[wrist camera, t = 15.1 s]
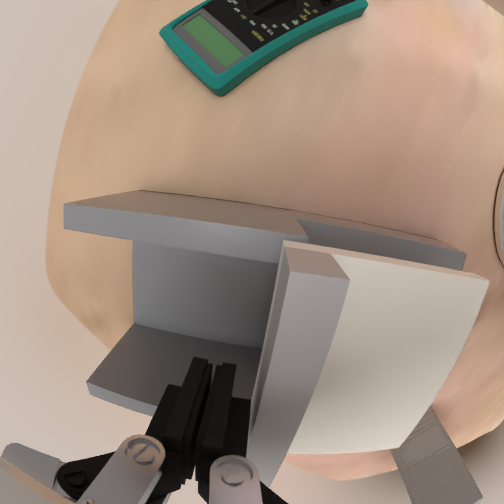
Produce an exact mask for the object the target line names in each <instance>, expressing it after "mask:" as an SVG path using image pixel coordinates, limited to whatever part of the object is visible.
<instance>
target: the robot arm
mask: <svg viewBox="0 0 504 504" xmlns="http://www.w3.org/2000/svg"><path fill="white" fill-rule="evenodd" d="M495 240H496V246H497V251H498V254H499V257H500V260H501V262H502V264H503V266H504V172H503V175H502V177H501V180H500V184H499V188H498V192H497V198H496V205H495ZM236 366H237V364H231V363H225V362H223V363H222V365H216V369H215V373H214V376H213V380H212V384H211V379H212V368H213V364H211V363H208V359H204V358H199V357H193V359H192V362H191V364H190V367H189V369H188V372H187V374H186V377H185V379H184V382H183V384H182V387H181V386H177V385H173V384H168V385H167V387H166V389H165V392H164V394H163V396H162V398H161V400H160V402H159V405H158V407H157V409H156V411H155V413H154V416H153V418H152V420H151V422H150V425H149V427H148V429H147V431H146V434H145V435H133V436H131V437H129V438H127V439H126V440H124V441H123V442H122V444H121V445H120V446H119V448H118V449H117V450H116V451H115V452H112V453H108V454H104V455H100V456H95V457H91V458H87V459H82V460H77V461H72V462H68V463H65V462H62V461H61V460H60V459H58V458H55V457H52V456H49V455H47V454H44V453H41V452H39V451H36V450H33V449H31V448H28V447H26V446H24V445H21V444H18V443H11V444H9V445H7V446H6V447H5V449H4V451H3V454H2V456H1V457H0V504H166V503H167V502H168V500H169V497H170V496H171V493H172V492H174V491H176V490H179V489H180V488H181V484H185V481H186V479H192V476H193V471H194V468H195V467H196V468H195V476H196V477H195V478H196V481H198V493H199V495H200V496H201V497H202V498H203V499H204V500H205V501H206V502H207V504H288V503H286V502H285V501H284V500H283V499H281V498H280V497H279V496H278V495H277V494H275V493H274V492H273V491H272V490H271V489H269V488H268V487H267V486H266V485H265V484H264V483H262V482H261V481H260V480H259V474H258V470H257V467H256V466H255V465H254V464H253V462H251V461H250V460H248V459H247V458H246V453H247V443H248V432H249V422H250V411H251V399H245V398H238V397H232V392H233V385H234V379H235V373H236Z"/></svg>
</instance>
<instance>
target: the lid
mask: <svg viewBox="0 0 504 504" xmlns="http://www.w3.org/2000/svg"><path fill="white" fill-rule="evenodd" d="M489 282H490V281H489V280H487V279H485V278H484V277H482V276H480V275H478V274H474V273H469V272H464V271H459V270H454V269H449V268H443V267H438V266H433V265H427V264H422V263H417V262H411V261H406V260H400V259H395V258H389V257H383V256H378V255H372V254H366V253H361V252H355V251H349V250H343V249H337V248H331V247H325V246H319V245H313V244H307V243H301V242H295V241H288V240H283V244H282V249H281V255H280V261H279V266H278V271H277V277H276V282H275V288H274V293H273V298H272V303H271V309H270V314H269V319H268V324H267V329H266V334H265V339H264V344H263V348H262V353H261V358H260V363H259V368H258V372H257V377H256V381H255V386H254V391H253V395H252V400H251V411H250V422H249V432H248V443H247V453H246V458H247V459H248V460H250V461H251V462H253V464H254V465H255V466H256V467H257V470H258V474H259V480H260V481H261V482H262V483H264V484H265V485H266V486H267V487H270V485H271V483H272V481H273V479H274V478H275V475H276V474H277V472H278V470H279V468H280V466H281V464H282V462H283V460H284V458H285V456H286V454H287V453H290V454H341V453H357V452H369V451H378V450H386V449H393V448H399V447H400V446H401V444H402V443H403V442H404V441H405V439H406V438H407V437H408V436H409V434H410V433H411V432H412V430H413V429H414V428H415V426H416V425H417V424H418V422H419V421H420V419H421V418H422V417H423V415H424V414H425V412H426V411H427V409H428V408H429V406H430V405H431V403H432V402H433V400H434V399H435V397H436V395H437V394H438V392H439V391H440V389H441V387H442V386H443V384H444V382H445V381H446V379H447V377H448V375H449V373H450V372H451V370H452V368H453V366H454V364H455V362H456V361H457V359H458V357H459V355H460V353H461V351H462V349H463V347H464V345H465V342H466V340H467V338H468V336H469V334H470V332H471V329H472V327H473V325H474V322H475V320H476V317H477V315H478V312H479V310H480V307H481V305H482V302H483V299H484V297H485V294H486V291H487V288H488V285H489Z"/></svg>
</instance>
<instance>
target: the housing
mask: <svg viewBox="0 0 504 504" xmlns="http://www.w3.org/2000/svg"><path fill="white" fill-rule="evenodd" d="M64 229H68V230H73V231H79V232H85V233H91V234H97V235H103V236H109V237H115V238H121V239H127V240H133V309H134V324H133V325H132V326H131V328H130V329H129V330H128V331H127V332H126V334H125V335H124V336H123V337H122V338H121V340H120V341H119V342H118V343H117V344H116V346H115V347H114V348H113V349H112V350H111V352H110V353H109V354H108V355H107V357H106V358H105V359H104V360H103V361H102V363H101V364H100V365H99V366H98V368H97V369H96V370H95V371H94V373H93V374H92V375H91V376H90V378H89V379H88V380H87V381H86V383H87V386H88V389H89V393H90V394H91V395H93V396H95V397H98V398H100V399H103V400H106V401H108V402H111V403H114V404H116V405H119V406H122V407H124V408H127V409H130V410H133V411H136V412H140V413H143V414H146V415H149V416H154V413H155V411H156V409H157V407H158V405H159V402H160V400H161V398H162V396H163V394H164V392H165V389H166V387H167V385H168V384H173V385H177V386H181V387H182V384H183V382H184V379H185V377H186V374H187V372H188V369H189V367H190V364H191V362H192V359H193V357H199V358H204V359H208V363H211V364H213V368H212V379H211V384H212V380H213V376H214V373H215V369H216V365H222V363H223V362H225V363H231V364H237V366H236V373H235V379H234V385H233V392H232V397H238V398H245V399H251V400H252V395H253V391H254V386H255V381H256V377H257V372H258V368H259V363H260V358H261V353H262V348H263V344H264V339H265V334H266V329H267V324H268V319H269V314H270V309H271V303H272V298H273V293H274V288H275V282H276V277H277V271H278V266H279V261H280V255H281V249H282V244H283V240H288V241H295V242H301V243H307V244H313V245H319V246H325V247H331V248H337V249H343V250H349V251H355V252H361V253H366V254H372V255H378V256H383V257H389V258H395V259H400V260H406V261H411V262H417V263H422V264H427V265H433V266H438V267H443V268H449V269H454V270H459V271H462V268H463V265H464V261H465V257H466V253H464V252H462V251H460V250H458V249H456V248H454V247H452V246H450V245H448V244H446V243H443V242H441V241H439V240H435V239H431V238H427V237H423V236H419V235H414V234H410V233H406V232H401V231H397V230H392V229H388V228H383V227H378V226H374V225H369V224H364V223H359V222H354V221H349V220H344V219H338V218H333V217H328V216H322V215H317V214H311V213H306V212H300V211H294V210H288V209H282V208H276V207H269V206H263V205H256V204H250V203H243V202H236V201H229V200H221V199H214V198H206V197H198V196H190V195H181V194H172V193H163V192H153V191H143V190H139V191H132V192H126V193H119V194H113V195H107V196H102V197H96V198H91V199H85V200H80V201H75V202H70V203H65V204H64ZM455 363H456V362H455ZM454 365H455V364H454Z"/></svg>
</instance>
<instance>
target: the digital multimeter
mask: <svg viewBox="0 0 504 504" xmlns="http://www.w3.org/2000/svg"><path fill="white" fill-rule="evenodd" d="M351 2H352V3H351ZM346 4H347V5H346ZM341 6H342V7H341ZM367 6H368V3H367V1H366V0H244V1H243V0H206V1H204V2H203V3H201V4H199V5H197V6H196V7H194V8H192V9H191V10H189V11H187V12H186V13H184V14H183V15H181V16H179V17H178V18H176V19H175V20H173V21H172V22H170V23H169V24H167V25H166V26H164V27H163V28H162V29H161V30H160V32H159V34H160V36H161V37H162V38H163V40H164V41H165V42H166V43H167V45H168V46H169V47H170V48H171V49H172V51H173V52H174V53H175V54H176V55H177V57H178V58H179V59H180V60H181V61H182V62H183V64H184V65H185V66H186V67H187V68H188V69H189V70H190V71H191V72H192V73H193V74H194V75H195V76H196V77H197V78H198V79H199V80H200V81H201V82H202V83H204V84H205V85H206V86H207V87H208V88H209V89H210V90H211V91H212V92H214V93H215V94H216V95H218V96H223V95H225V94H227V93H228V92H229V91H230V90H232V89H233V88H234V87H235V86H237V85H238V84H239V83H241V82H242V81H243V80H244V79H246V78H247V77H248V76H250V75H251V74H252V73H254V72H255V71H257V70H258V69H259V68H261V67H262V66H264V65H265V64H266V63H268V62H269V61H271V60H272V59H274V58H276V57H277V56H279V55H280V54H282V53H284V52H285V51H287V50H289V49H290V48H292V47H294V46H295V45H297V44H299V43H300V42H302V41H304V40H306V39H308V38H310V37H312V36H314V35H316V34H318V33H320V32H323V31H325V30H327V29H329V28H331V27H334V26H336V25H338V24H341V23H344V22H346V21H349V20H352V19H354V18H357V17H360V16H361V15H362V14H363V12H364V11H365V9H366V8H367ZM298 7H299V8H298ZM336 8H337V9H336ZM334 9H335V10H334ZM329 11H330V12H329ZM295 12H296V13H295ZM318 16H319V17H318ZM316 17H317V18H316ZM314 18H315V19H314ZM312 19H313V20H312ZM310 20H311V21H310ZM300 25H301V26H300ZM298 26H299V27H298ZM296 27H297V28H296ZM294 28H295V29H294ZM292 29H293V30H292ZM290 30H291V31H290ZM283 34H284V35H283ZM281 35H282V36H281ZM274 39H275V40H274ZM269 42H270V43H269ZM267 43H268V44H267ZM264 45H265V46H264ZM262 46H263V47H262ZM259 48H260V49H259ZM254 51H255V52H254Z"/></svg>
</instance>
